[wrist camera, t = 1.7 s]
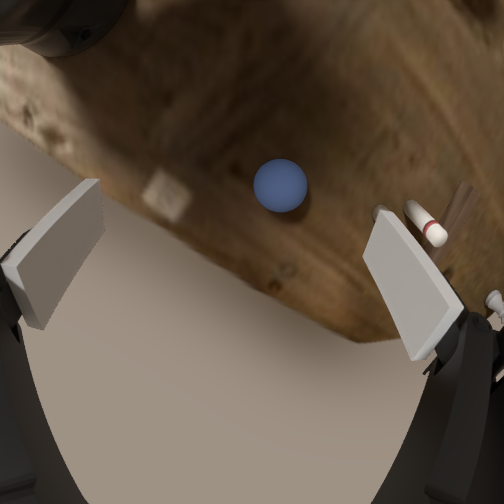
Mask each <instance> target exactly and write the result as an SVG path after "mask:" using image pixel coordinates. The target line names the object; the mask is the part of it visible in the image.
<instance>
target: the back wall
mask: <svg viewBox="0 0 504 504" xmlns="http://www.w3.org/2000/svg"><path fill="white" fill-rule="evenodd" d="M479 195H480V193H479V192H478V191H477V190H475V189H474V188H473V187H471V186H470V185H468V184H467V183H465V182H464V181H463V180H461V183H460V185H459V186H458V188H457V190H456V192H455V194H454V196H453V198H452V200H451V202H450V204H449V206H448V207H447V209H446V211H445V213H444V215H443V216H442V218H441V220H440V222H439V224H440V225H441V227H442V228H443V229H444V230H445V231H446V232H447V235H448V237H447V240H446V242H445V243H444V244H443V245H442V246H440V247H434V246H433V245H432V243H431V242H430V241H429V240H428V242H427V244H426V245H425V247H424V249H423V250H424V251H425V252H426V254H427V255H428V256H429V258H430V259H431V260H432V262H433V263H434V264H435V266H436V267H437V266H438V265H439V263H440V262H441V260H442V259H443V257H444V255H445V254H446V252H447V251H448V249H449V248H450V246H451V244H452V243H453V241H454V240H455V238H456V236H457V235H458V233H459V231H460V229H461V228H462V226H463V224H464V223H465V221H466V219H467V217H468V215H469V214H470V212H471V210H472V208H473V206H474V204H475V203H476V201H477V199H478V197H479Z"/></svg>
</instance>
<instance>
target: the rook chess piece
mask: <svg viewBox="0 0 504 504" xmlns="http://www.w3.org/2000/svg"><path fill="white" fill-rule="evenodd" d="M485 304H486V305H487V306H488V308H490V309H492V310H494V311H495V312H496V313H497V314H498V315H499V318H501V323H502V324H504V304H503V302H502V296H501V294H500V293H499V291H498V290H493V291H492V292H491V293H489V295H488V296H487V298H486V301H485Z"/></svg>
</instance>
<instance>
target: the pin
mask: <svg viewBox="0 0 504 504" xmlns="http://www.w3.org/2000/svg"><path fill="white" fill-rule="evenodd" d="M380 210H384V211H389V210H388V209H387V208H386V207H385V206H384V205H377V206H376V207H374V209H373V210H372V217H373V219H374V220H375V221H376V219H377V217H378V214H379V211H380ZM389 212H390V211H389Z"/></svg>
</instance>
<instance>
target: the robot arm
mask: <svg viewBox="0 0 504 504" xmlns="http://www.w3.org/2000/svg"><path fill="white" fill-rule="evenodd" d="M127 1H128V0H0V46H3V45H15V44H21V45H22V46H24V47H26V48H28V49H30V50H31V51H33V52H35V53H37V54H39V55H42V56H47V57H64V56H70V55H74V54H77V53H80V52H82V51H84V50H86V49H88V48H89V47H91V46H92V45H94V44H95V43H97V42H98V41H99V40H100V39H101V38H103V37H104V36H105V35H106V34H107V33H108V32H109V30H110V29H111V28H112V27H113V26H114V24H115V23H116V22H117V20H118V19H119V17H120V16H121V14H122V12H123V10H124V8H125V6H126V4H127ZM104 232H105V225H104V217H103V208H102V198H101V187H100V179H85V180H84V181H82V182H81V183H80V184H79V185H78V186H77V187H76V188H74V189H73V190H72V191H71V192H70V193H69V194H68V195H67V196H65V197H64V198H63V199H62V200H61V201H60V202H59V203H58V204H57V205H56V206H55V207H54V208H52V209H51V210H50V211H49V212H48V213H47V214H46V215H45V216H44V217H43V218H42V219H41V220H40V221H39V222H38V223H37V224H36V225H35V226H34V227H33V228H32V229H30V230H28V231H27V232H25V233H23V234H22V235H21V237H20V238H19V239H18V240H17V241H16V243H14V244H13V245H12V246H11V249H8V251H7V252H6V253H5V254H4V255H3V256H2V257H1V259H0V504H88V502H87V501H86V500H85V499H84V497H83V496H82V494H81V492H80V490H79V489H78V487H77V485H76V483H75V481H74V479H73V477H72V476H71V474H70V472H69V470H68V468H67V466H66V464H65V462H64V460H63V457H62V455H61V453H60V451H59V449H58V446H57V444H56V442H55V440H54V437H53V435H52V432H51V430H50V427H49V425H48V422H47V420H46V417H45V414H44V411H43V409H42V406H41V403H40V401H39V397H38V394H37V391H36V387H35V384H34V381H33V377H32V374H31V370H30V366H29V362H28V358H27V354H26V350H25V345H24V341H23V336H22V331H21V327H20V325H19V323H18V320H19V319H20V317H21V315H23V317H24V319H25V321H26V323H27V325H28V326H29V327H33V328H36V329H40V330H44V328H45V327H46V324H47V323H48V321H49V319H50V317H51V315H52V314H53V312H54V310H55V308H56V307H57V305H58V303H59V301H60V300H61V298H62V296H63V294H64V293H65V291H66V289H67V288H68V286H69V285H70V283H71V281H72V280H73V278H74V276H75V275H76V273H77V272H78V270H79V269H80V267H81V265H82V264H83V262H84V261H85V259H86V258H87V256H88V255H89V253H90V252H91V250H92V249H93V247H94V246H95V245H96V243H97V242H98V240H99V239H100V237H101V236H102V234H103V233H104ZM363 259H364V261H365V263H366V264H367V266H368V268H369V270H370V272H371V274H372V276H373V278H374V280H375V282H376V284H377V286H378V288H379V290H380V292H381V294H382V296H383V299H384V301H385V303H386V305H387V307H388V309H389V311H390V313H391V316H392V318H393V320H394V322H395V324H396V327H397V329H398V331H399V333H400V336H401V338H402V340H403V343H404V345H405V347H406V350H407V352H408V354H409V357H410V359H411V361H414V360H424V359H426V358H427V357H428V356H429V355H430V354H431V352H432V351H433V350H434V349H435V351H436V353H437V357H436V358H435V359H434V360H433V361H432V363H431V364H430V365H429V366H428V367H427V368H426V370H425V371H424V372H423V375H425V374H426V373H427V372H428V371H430V372H429V376H428V379H427V382H426V385H425V388H424V391H423V394H422V396H421V399H420V402H419V405H418V407H417V410H416V413H415V415H414V418H413V420H412V423H411V425H410V428H409V430H408V432H407V435H406V437H405V439H404V441H403V444H402V446H401V448H400V450H399V452H398V455H397V457H396V459H395V461H394V463H393V465H392V467H391V469H390V470H389V472H388V474H387V476H386V478H385V480H384V482H383V484H382V485H381V487H380V489H379V491H378V493H377V494H376V496H375V498H374V499H373V501H372V503H371V504H504V376H503V377H502V378H501V379H500V380H499V381H498V382H496V376H497V375H498V374H499V373H500V372H501V371H502V370H503V369H504V326H503V327H502V329H501V330H500V331H496V330H493V329H492V326H491V324H490V323H489V321H488V320H487V319H486V318H485V317H484V316H482V315H481V314H479V313H476V312H471V313H470V312H469V310H468V309H467V307H466V306H465V304H464V303H463V301H462V300H461V298H460V297H459V295H458V294H457V292H456V291H454V290H455V289H454V288H453V286H452V285H450V282H449V281H448V279H447V278H446V277H445V275H444V274H443V273H442V272H441V271H440V270H438V268H437V267H436V266H435V264H434V263H433V262H432V260H431V259H430V258H429V256H428V255H427V254H426V252H425V251H424V250H423V249H422V247H421V246H420V245H419V243H418V242H417V241H416V240H415V238H414V237H413V236H412V235H411V233H410V232H409V231H408V230H407V228H406V227H405V226H404V225H403V224H402V222H401V221H400V220H399V219H398V218H397V217H396V215H395V214H394V213H393V212H389V211H384V210H380V211H379V214H378V217H377V219H376V222H375V225H374V228H373V230H372V233H371V236H370V238H369V241H368V244H367V246H366V249H365V252H364V254H363Z"/></svg>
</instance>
